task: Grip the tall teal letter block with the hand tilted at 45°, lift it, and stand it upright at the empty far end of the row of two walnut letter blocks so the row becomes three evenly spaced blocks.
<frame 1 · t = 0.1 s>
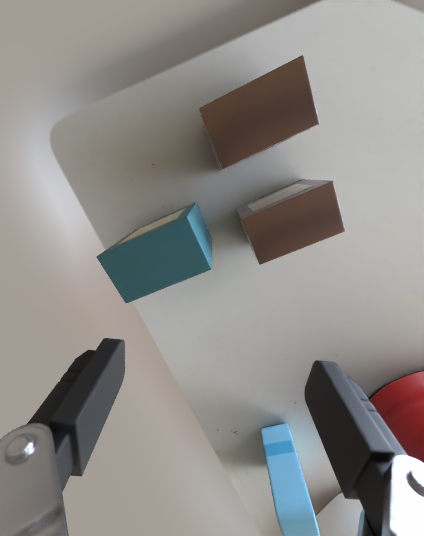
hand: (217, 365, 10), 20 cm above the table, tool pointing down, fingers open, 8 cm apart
walnut block 1: (247, 131, 25), on the table
data package: (279, 443, 42), on the table
walnut block 2: (275, 213, 28), on the table
teal block: (173, 234, 29), on the table
crystal-topped trinket box: (374, 521, 50), on the table
table lamp: (418, 413, 39), on the table
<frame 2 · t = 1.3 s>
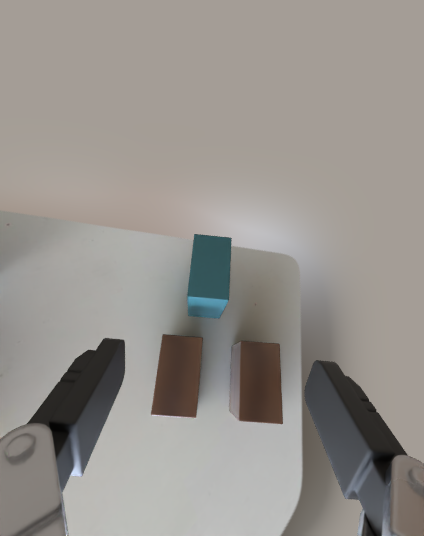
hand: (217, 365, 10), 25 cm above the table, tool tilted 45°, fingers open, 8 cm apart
walnut block 1: (247, 378, 33), on the table
walnut block 2: (181, 373, 32), on the table
teal block: (206, 291, 37), on the table
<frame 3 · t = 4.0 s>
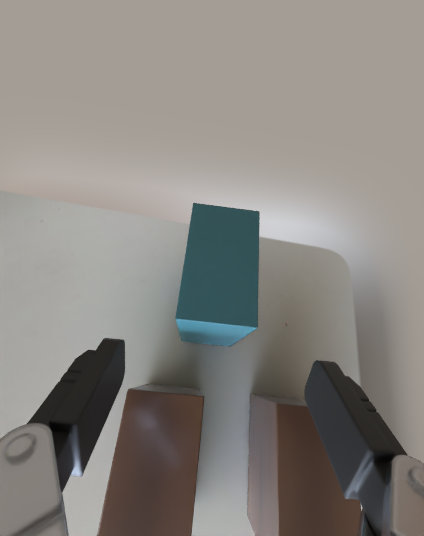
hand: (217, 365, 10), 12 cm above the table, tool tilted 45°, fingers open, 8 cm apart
walnut block 1: (276, 452, 20), on the table
walnut block 2: (165, 442, 19), on the table
teal block: (210, 302, 24), on the table
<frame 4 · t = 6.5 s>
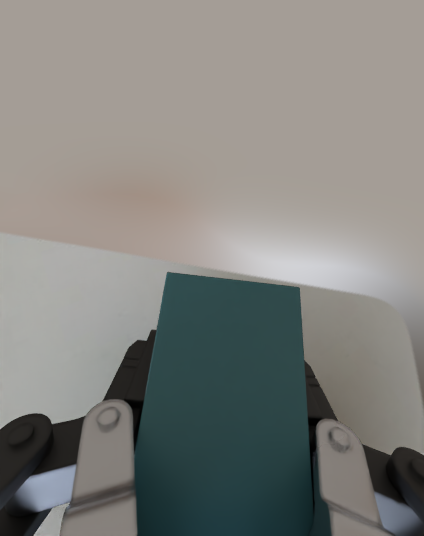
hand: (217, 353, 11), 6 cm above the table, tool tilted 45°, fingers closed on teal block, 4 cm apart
teal block: (205, 390, 16), on the table, touching gripper
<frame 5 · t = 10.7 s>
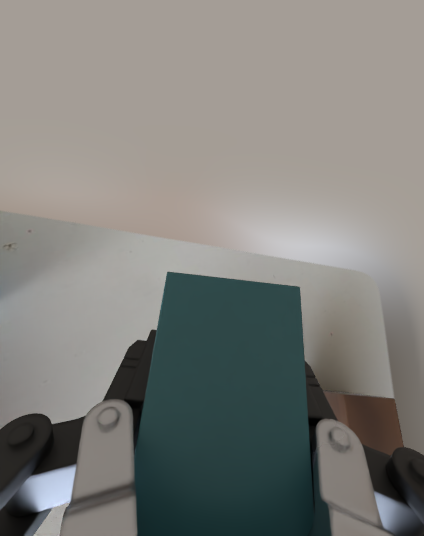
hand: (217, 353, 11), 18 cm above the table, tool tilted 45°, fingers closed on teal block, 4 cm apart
walnut block 1: (332, 432, 26), on the table
teal block: (205, 390, 16), point 12 cm above the table, touching gripper
when the fingers open (6 cm above the table, at t = 15.0 s): teal block stays where it is, on the table.
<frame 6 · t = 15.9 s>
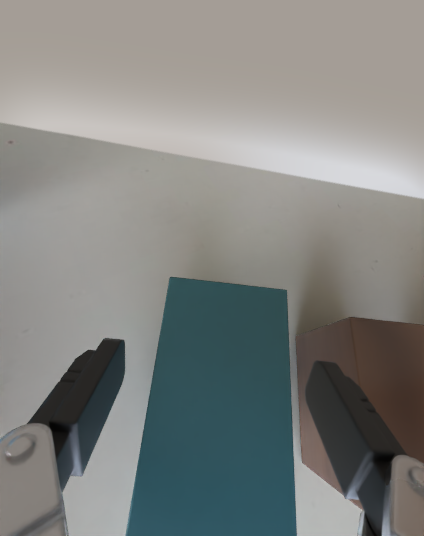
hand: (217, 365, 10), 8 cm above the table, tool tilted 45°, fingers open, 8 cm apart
walnut block 2: (329, 396, 17), on the table
teal block: (204, 385, 17), on the table
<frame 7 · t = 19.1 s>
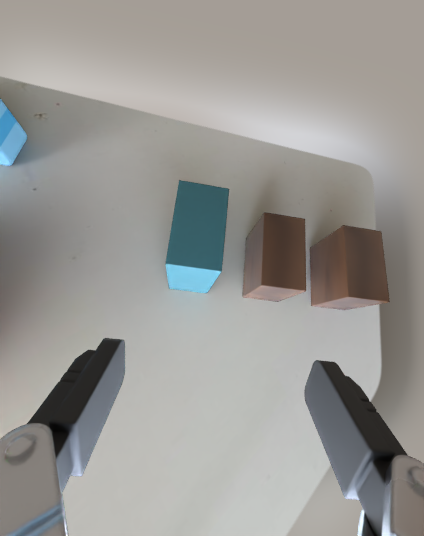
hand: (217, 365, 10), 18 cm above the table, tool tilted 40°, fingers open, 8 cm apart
walnut block 1: (326, 278, 32), on the table
walnut block 2: (261, 269, 31), on the table
teal block: (192, 259, 30), on the table
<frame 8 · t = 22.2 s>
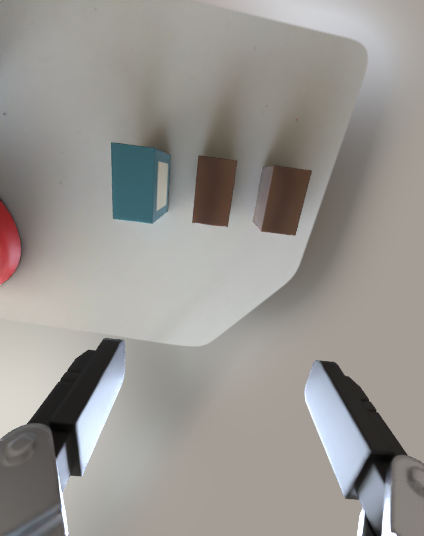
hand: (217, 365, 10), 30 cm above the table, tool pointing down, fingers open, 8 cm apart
walnut block 1: (272, 197, 37), on the table
walnut block 2: (213, 189, 36), on the table
teal block: (153, 182, 36), on the table
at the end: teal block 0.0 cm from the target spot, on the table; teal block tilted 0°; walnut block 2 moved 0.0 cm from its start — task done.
